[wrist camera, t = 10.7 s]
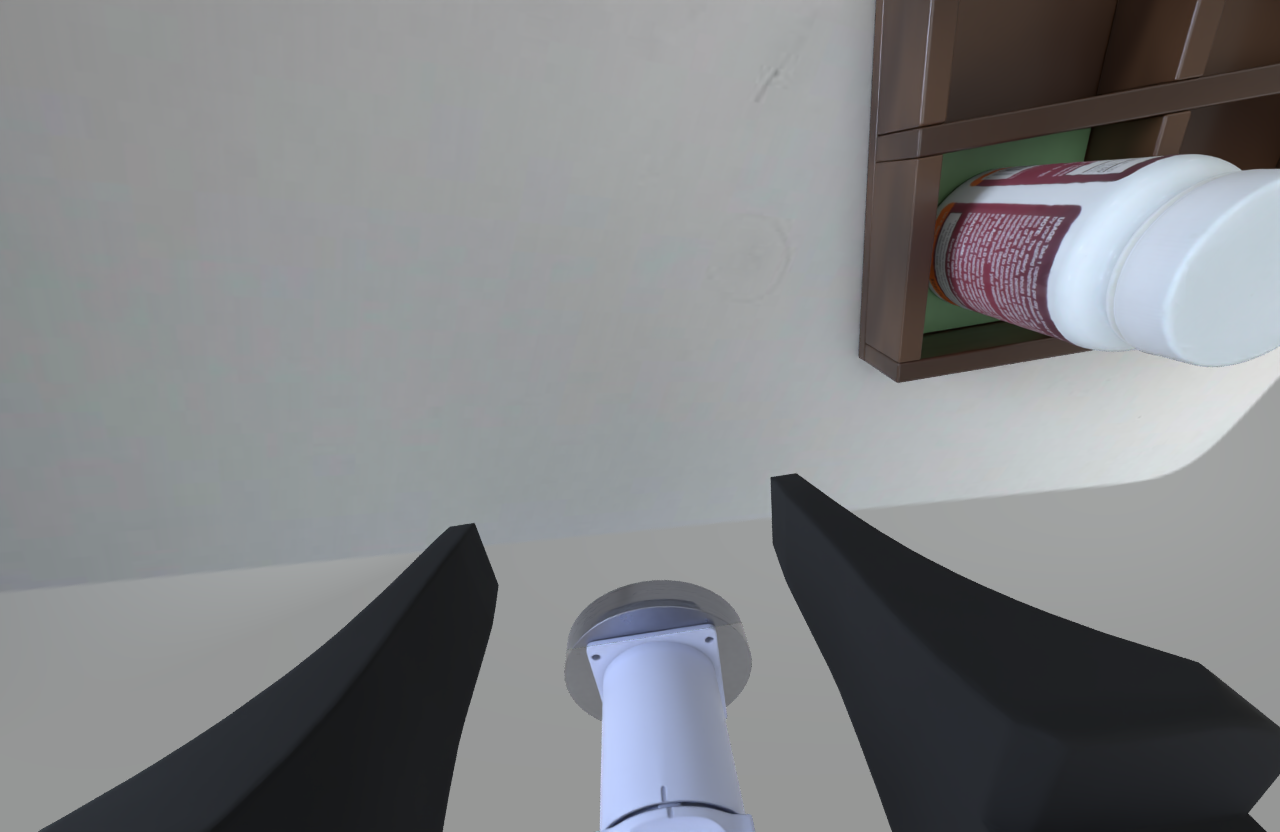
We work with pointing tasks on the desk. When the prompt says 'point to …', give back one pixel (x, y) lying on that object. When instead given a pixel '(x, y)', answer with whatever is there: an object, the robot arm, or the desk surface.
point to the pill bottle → (1120, 254)
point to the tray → (1037, 133)
